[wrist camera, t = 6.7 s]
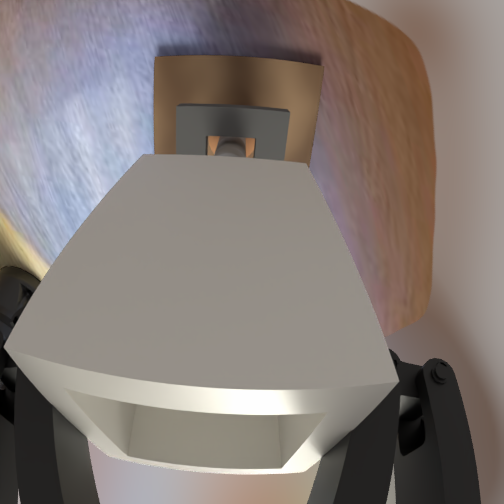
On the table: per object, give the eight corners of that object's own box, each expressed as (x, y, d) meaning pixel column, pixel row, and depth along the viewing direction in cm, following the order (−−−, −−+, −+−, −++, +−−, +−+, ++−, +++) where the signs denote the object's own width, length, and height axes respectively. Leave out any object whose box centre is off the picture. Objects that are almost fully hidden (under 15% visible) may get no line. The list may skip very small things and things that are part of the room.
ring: (180, 197, 25) (177, 205, 23) (180, 103, 20) (176, 106, 19) (275, 202, 25) (277, 210, 24) (287, 109, 21) (290, 112, 19)
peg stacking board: (159, 198, 33) (126, 264, 23) (158, 56, 24) (106, 57, 14) (299, 205, 34) (322, 275, 24) (321, 66, 25) (367, 71, 15)
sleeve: (155, 278, 16) (109, 457, 8) (143, 154, 12) (3, 346, 4) (282, 286, 16) (304, 471, 8) (305, 163, 12) (399, 381, 4)
